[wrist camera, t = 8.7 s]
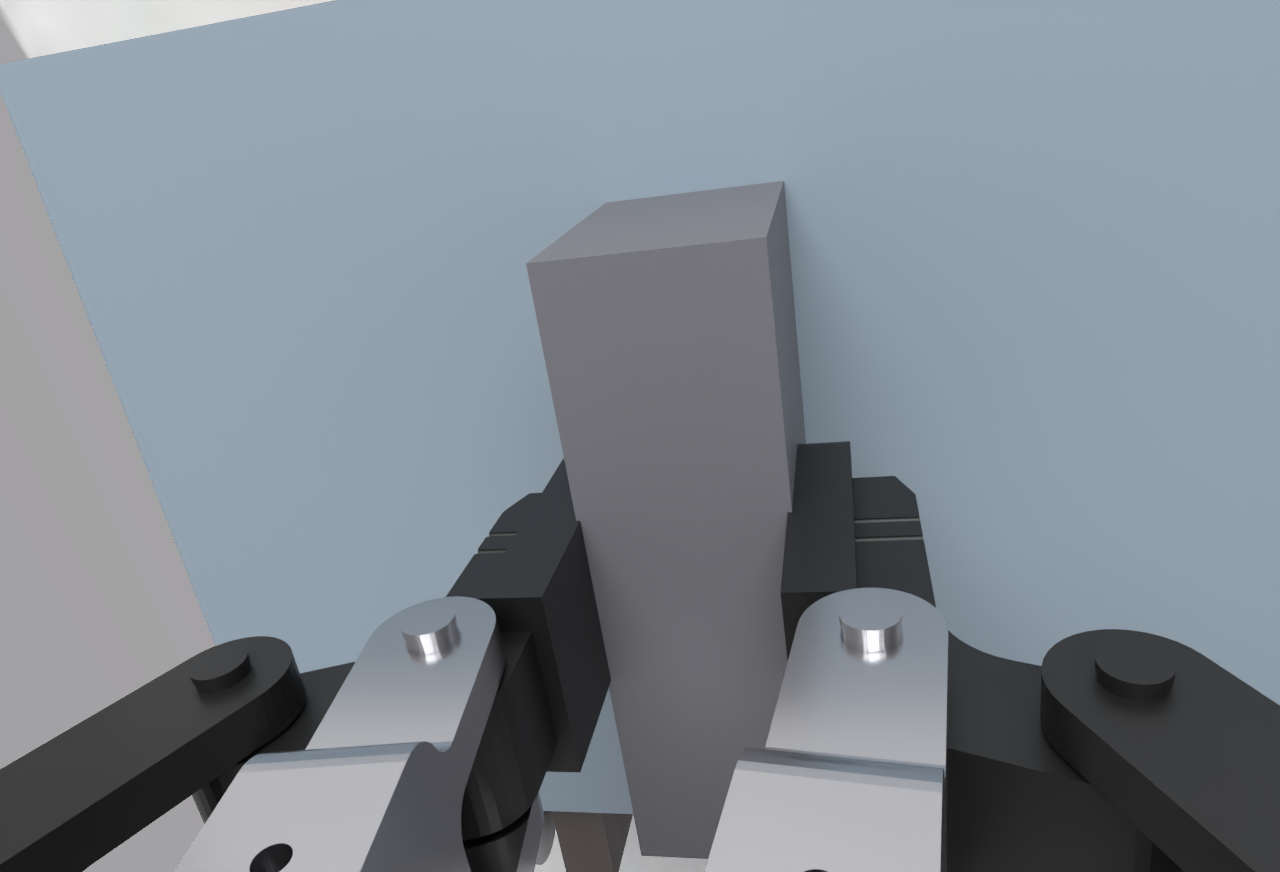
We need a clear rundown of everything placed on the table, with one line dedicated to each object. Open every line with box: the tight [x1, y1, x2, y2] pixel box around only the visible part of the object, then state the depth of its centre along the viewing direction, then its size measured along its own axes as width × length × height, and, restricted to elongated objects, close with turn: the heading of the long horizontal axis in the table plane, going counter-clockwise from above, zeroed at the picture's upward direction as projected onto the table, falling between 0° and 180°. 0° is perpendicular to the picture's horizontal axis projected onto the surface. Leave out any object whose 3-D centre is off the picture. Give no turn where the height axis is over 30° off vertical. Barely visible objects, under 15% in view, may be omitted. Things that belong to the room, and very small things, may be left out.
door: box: [0, 0, 1280, 865], centre depth 13 cm, size 20×16×5 cm
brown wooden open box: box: [552, 811, 633, 872], centre depth 19 cm, size 20×16×11 cm
